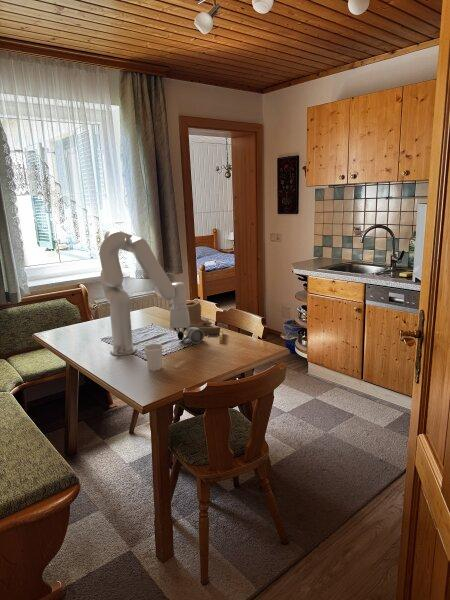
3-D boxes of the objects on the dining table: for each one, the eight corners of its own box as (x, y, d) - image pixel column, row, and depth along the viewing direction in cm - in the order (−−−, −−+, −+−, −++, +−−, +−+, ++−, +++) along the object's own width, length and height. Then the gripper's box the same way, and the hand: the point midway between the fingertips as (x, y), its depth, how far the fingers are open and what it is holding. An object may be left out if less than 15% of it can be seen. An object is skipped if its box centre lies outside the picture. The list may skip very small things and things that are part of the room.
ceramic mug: (199, 338, 223) (198, 324, 221) (204, 342, 215) (203, 328, 214) (180, 341, 219) (179, 327, 217) (185, 346, 211) (184, 331, 209)
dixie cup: (167, 368, 183) (166, 346, 181) (151, 373, 178) (150, 351, 175) (157, 363, 189) (156, 342, 187) (141, 368, 184) (140, 346, 181)
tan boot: (180, 326, 246) (179, 301, 242) (195, 322, 254) (194, 298, 250) (197, 331, 235) (196, 305, 232) (212, 326, 243) (211, 301, 240)
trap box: (221, 343, 213) (221, 336, 212) (183, 344, 213) (183, 337, 212) (222, 334, 229) (222, 327, 228) (187, 334, 229) (186, 327, 228)
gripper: (163, 307, 210) (165, 342, 214) (192, 307, 210) (194, 341, 214) (166, 304, 217) (167, 337, 222) (194, 303, 217) (195, 337, 221)
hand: (180, 339), depth 218 cm, fingers closed
